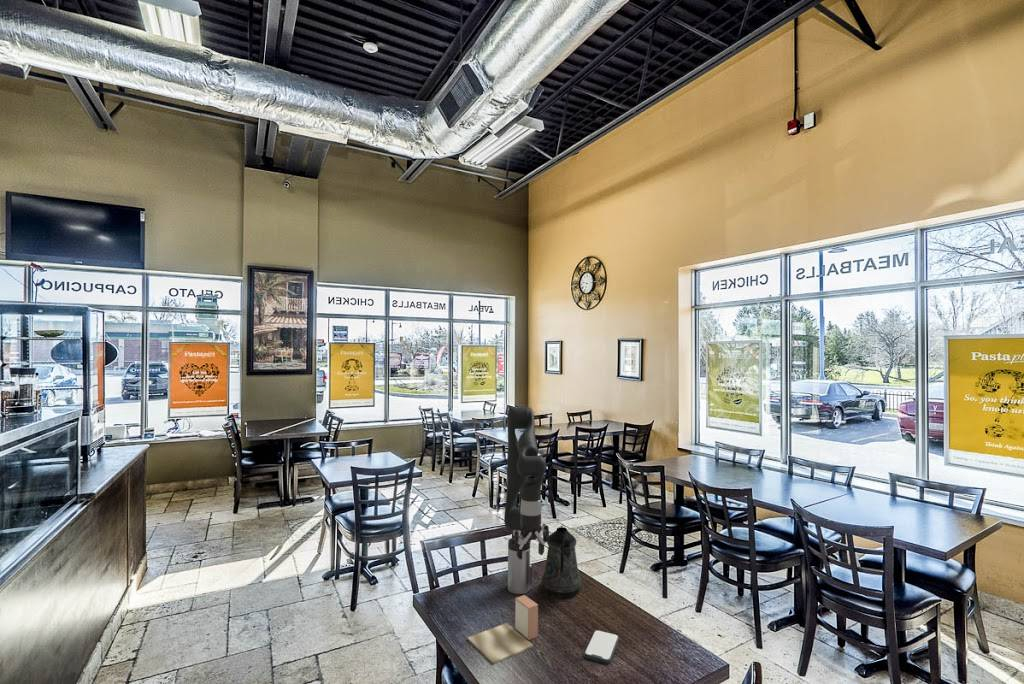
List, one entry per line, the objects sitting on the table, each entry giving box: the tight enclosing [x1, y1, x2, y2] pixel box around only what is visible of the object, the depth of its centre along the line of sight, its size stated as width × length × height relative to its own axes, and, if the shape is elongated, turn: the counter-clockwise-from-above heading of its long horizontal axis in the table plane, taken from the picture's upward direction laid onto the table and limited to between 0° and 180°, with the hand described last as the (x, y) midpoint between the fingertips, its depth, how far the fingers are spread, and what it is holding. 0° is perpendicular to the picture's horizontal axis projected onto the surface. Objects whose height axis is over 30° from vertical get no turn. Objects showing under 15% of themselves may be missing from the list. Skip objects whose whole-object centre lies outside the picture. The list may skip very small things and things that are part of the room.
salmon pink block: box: [514, 594, 539, 641], centre depth 172 cm, size 4×8×11 cm, turn 35°
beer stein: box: [541, 526, 582, 599], centre depth 203 cm, size 16×19×25 cm
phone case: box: [583, 629, 620, 665], centre depth 164 cm, size 9×2×16 cm
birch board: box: [467, 622, 534, 665], centre depth 166 cm, size 16×16×1 cm
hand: (530, 556), depth 177 cm, fingers open, 8 cm apart
